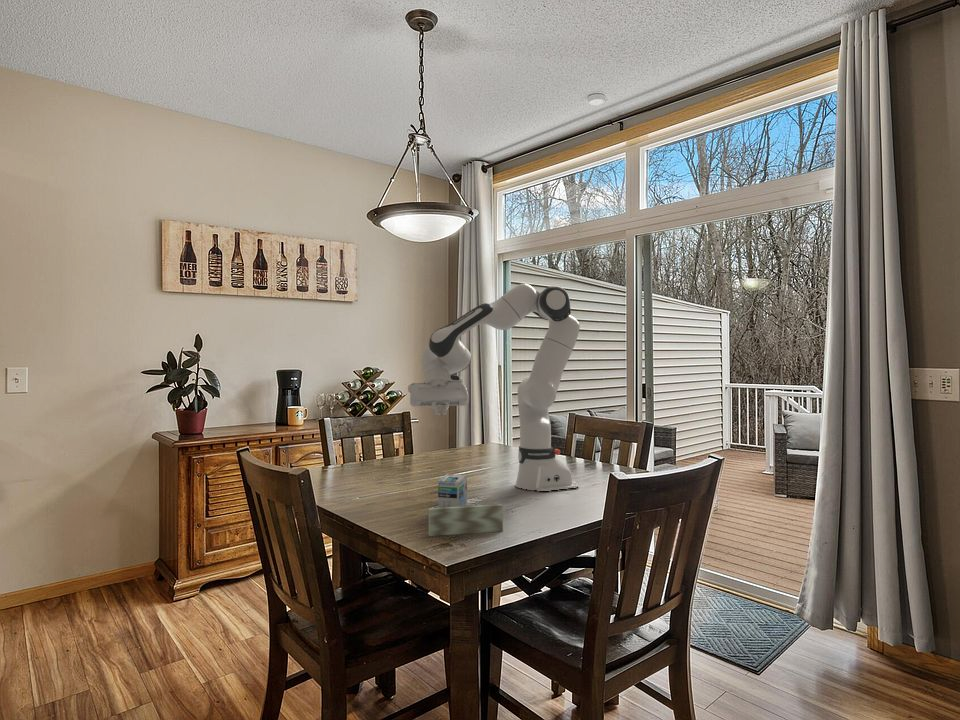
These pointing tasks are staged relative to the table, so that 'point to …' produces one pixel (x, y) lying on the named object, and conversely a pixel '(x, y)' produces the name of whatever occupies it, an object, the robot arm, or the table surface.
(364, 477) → the table surface
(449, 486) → the light bulb box
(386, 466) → the table surface
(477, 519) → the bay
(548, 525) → the table surface
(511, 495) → the table surface
